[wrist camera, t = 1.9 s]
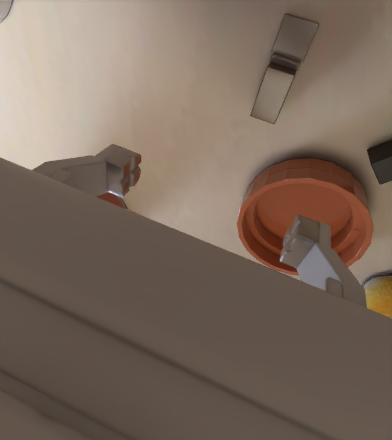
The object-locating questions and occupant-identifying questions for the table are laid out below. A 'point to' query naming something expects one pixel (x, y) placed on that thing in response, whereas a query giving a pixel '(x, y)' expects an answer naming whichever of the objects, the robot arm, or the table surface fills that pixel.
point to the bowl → (304, 210)
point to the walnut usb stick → (283, 66)
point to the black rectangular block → (382, 161)
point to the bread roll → (379, 295)
